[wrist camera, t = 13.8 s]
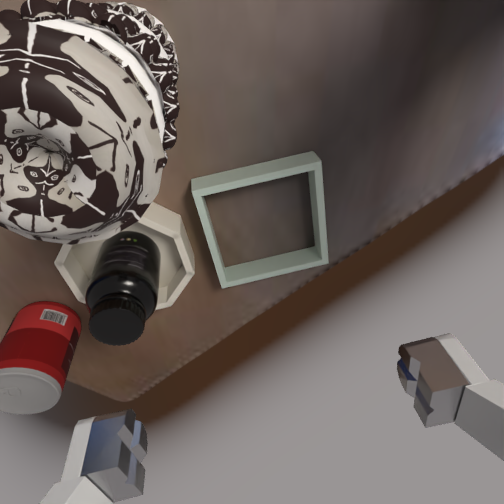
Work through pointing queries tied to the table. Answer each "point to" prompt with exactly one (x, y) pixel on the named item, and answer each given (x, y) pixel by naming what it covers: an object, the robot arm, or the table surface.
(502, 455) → the robot arm
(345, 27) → the table surface
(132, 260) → the supplement bottle
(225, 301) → the table surface
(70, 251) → the bowl
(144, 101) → the decorative candle
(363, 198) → the table surface
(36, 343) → the canned food
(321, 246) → the tray
